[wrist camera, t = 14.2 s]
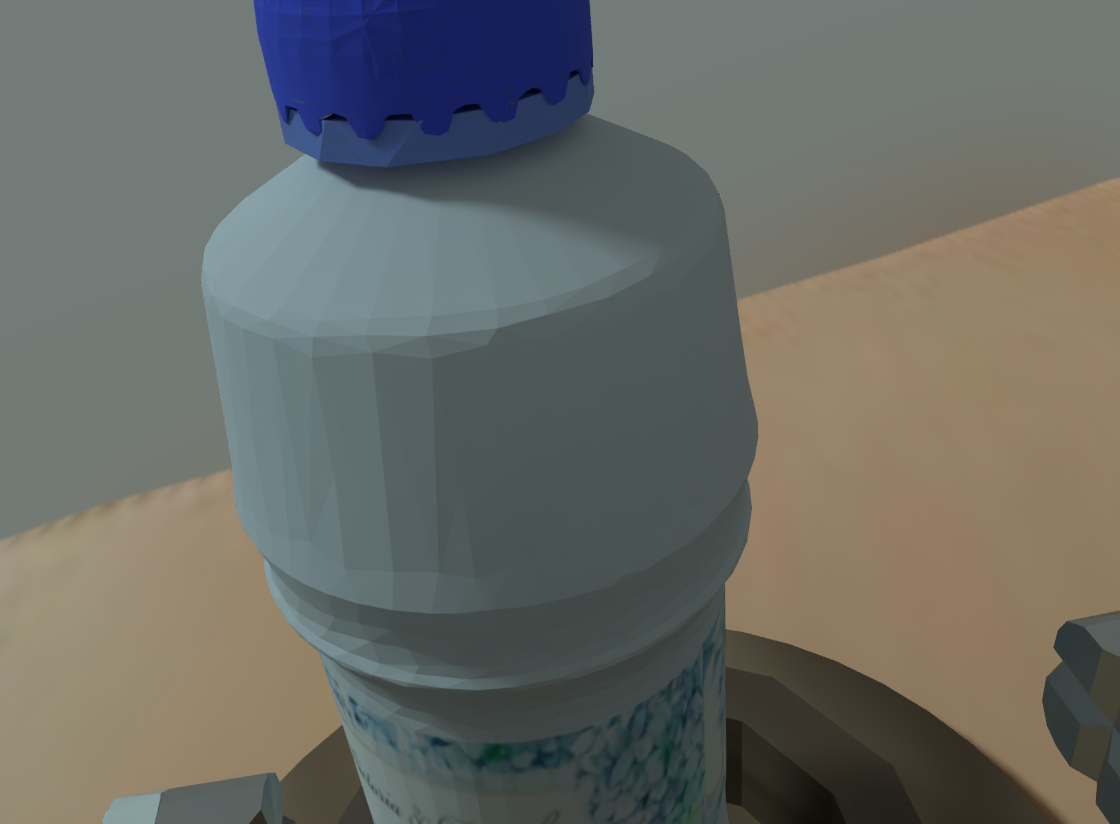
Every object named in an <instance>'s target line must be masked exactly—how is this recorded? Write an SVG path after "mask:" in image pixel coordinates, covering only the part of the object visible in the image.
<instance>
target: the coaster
mask: <svg viewBox="0 0 1120 824" xmlns="http://www.w3.org/2000/svg"><path fill="white" fill-rule="evenodd" d="M725 658H726V781H725V792H726V806H727V814H728V821H729V824H1051V823H1050V822H1049V821H1048V820H1047V819H1046V818H1045V816H1044V815H1043V814H1042V813H1041V812H1040V811H1039V810H1038V809H1037V807H1036V806H1035V805H1034V804H1033V803H1032V802H1031V801H1030V799H1029V798H1028V797H1027V796H1026V795H1025V794H1024V793H1023V792H1022V790H1021V789H1020V788H1019V787H1018V786H1017V785H1016V784H1015V783H1014V782H1013V781H1012V780H1011V779H1010V778H1009V777H1007V776H1006V775H1005V774H1004V773H1003V772H1002V771H1001V770H1000V769H999V768H998V767H997V766H995V765H994V764H993V763H992V762H991V761H990V760H989V759H988V758H987V757H986V756H985V755H984V754H982V753H981V752H980V751H979V750H978V749H977V748H976V747H975V746H974V745H973V744H971V743H970V742H969V741H967V740H966V739H965V738H963V737H962V736H961V735H959V734H958V733H957V732H955V731H954V730H953V729H951V728H950V727H949V726H947V725H946V724H945V723H943V722H942V721H941V720H939V719H938V718H937V717H935V716H934V715H933V714H931V713H930V712H929V711H927V710H925V709H924V708H922V707H920V706H919V705H917V704H915V703H914V702H912V701H910V700H909V699H907V698H906V697H904V696H902V695H901V694H899V693H897V692H896V691H894V690H892V689H891V688H889V687H887V686H886V685H884V684H882V683H880V682H878V681H876V680H874V679H872V678H870V677H868V676H866V675H864V674H862V673H859V672H857V671H855V670H853V669H851V668H849V667H847V666H845V665H843V664H841V663H839V662H837V661H834V660H831V659H828V658H826V657H823V656H820V655H817V654H815V653H812V652H809V651H806V650H804V649H801V648H798V647H796V646H793V645H790V644H786V643H783V642H779V641H775V640H771V639H767V638H763V637H759V636H756V635H752V634H748V633H744V632H739V631H732V630H726V629H725ZM280 785H281V787H282V789H283V791H284V793H285V794H284V806H283V815H284V816H286V817H288V818H290V819H292V820H293V821H295V822H296V824H374V821H373V818H372V815H371V812H370V809H369V806H368V802H367V799H366V796H365V793H364V790H363V787H362V784H361V781H360V777H359V774H358V771H357V768H356V765H355V762H354V759H353V756H352V752H351V749H350V746H349V743H348V740H347V737H346V734H345V731H344V727H343V725H342V726H341V727H339V728H338V729H337V730H336V731H335V732H334V733H332V734H331V735H330V736H329V737H328V738H326V739H325V740H324V741H323V742H322V743H321V744H319V745H318V746H317V747H316V748H315V749H313V750H312V751H311V752H310V753H309V754H308V755H306V756H305V757H304V758H303V759H302V760H301V761H300V762H299V763H298V764H297V765H296V766H295V767H294V768H293V769H292V770H291V771H290V772H289V773H288V774H287V775H286V776H285V778H284V779H283V780H282V781H281V782H280Z"/></svg>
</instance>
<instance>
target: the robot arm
mask: <svg viewBox="0 0 1120 824" xmlns="http://www.w3.org/2000/svg"><path fill="white" fill-rule="evenodd" d="M1053 648H1054V649H1055V651H1056V652H1057V653H1058V654H1059V656H1060V657H1061V658H1062V660H1063V661H1062V662H1061V663H1060V664H1059V665H1058V666H1057V667H1056V668H1055V669H1054V670H1053V671H1052V672H1051V673H1050V674H1049V675H1048V676H1047V677H1046V682H1045V687H1044V693H1043V699H1042V702H1043V707H1044V712H1045V718H1046V723H1047V727H1048V729H1049V731H1050V733H1051V735H1052V738H1053V740H1054V742H1055V744H1056V746H1057V748H1058V749H1059V751H1060V752H1061V754H1062V755H1063V757H1064V758H1065V760H1066V761H1067V763H1068V764H1069V766H1070V767H1072V768H1074V769H1075V770H1077V771H1079V772H1081V773H1082V774H1084V775H1086V776H1088V777H1089V778H1091V779H1093V780H1094V781H1096V782H1097V793H1096V805H1097V806H1098V807H1099V809H1100V810H1101V812H1102V813H1103V815H1104V816H1105V817H1106V819H1107V820H1108V822H1109V823H1110V824H1120V611H1115V612H1110V613H1105V614H1100V615H1095V616H1090V617H1085V618H1080V619H1075V620H1070V621H1067V622H1066V623H1065V624H1064V625H1063V626H1062V627H1061V628H1060V629H1059V630H1058V632H1057V636H1056V640H1055V644H1054V647H1053ZM284 794H285V793H284V791H283V789H282V787H281V785H280V782H279V780H278V778H277V776H276V773H265V774H259V775H253V776H247V777H241V778H234V779H228V780H222V781H216V782H210V783H203V784H197V785H191V786H185V787H179V788H172V789H168V790H162V791H156V792H150V793H145V794H139V795H133V796H128V797H122V798H116V799H115V800H114V801H113V803H112V805H111V806H110V808H109V809H108V811H107V813H106V814H105V816H104V819H103V823H102V824H296V822H295V821H293V820H292V819H290V818H288V817H286V816H284V815H283V806H284Z"/></svg>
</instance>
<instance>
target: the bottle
mask: <svg viewBox="0 0 1120 824" xmlns="http://www.w3.org/2000/svg"><path fill="white" fill-rule="evenodd" d="M254 7H255V16H256V24H257V32H258V36H259V41H260V45H261V48H262V52H263V56H264V61H265V65H266V69H267V73H268V77H269V81H270V85H271V89H272V92H273V95H274V98H275V101H276V105H277V110H278V114H279V119H280V123H281V127H282V131H283V136H284V140H285V143H286V144H288V145H290V146H292V147H294V148H295V149H297V150H299V151H301V152H303V153H305V155H304V156H302V157H301V158H300V159H298V160H297V161H296V162H294V163H293V164H292V165H290V166H289V167H287V168H286V169H285V170H283V171H282V172H281V173H279V174H278V175H276V176H275V177H274V178H272V179H271V180H270V181H268V182H267V183H266V184H264V185H263V186H261V187H260V188H259V189H257V190H256V191H255V192H253V193H252V194H251V195H249V196H248V197H247V198H245V199H244V200H243V201H241V202H240V204H239V205H238V206H237V207H236V208H235V209H234V210H233V211H232V212H231V213H230V214H229V215H228V216H227V217H226V218H225V219H224V220H223V221H222V222H221V223H220V224H219V226H218V227H217V228H216V229H215V231H214V233H213V235H212V237H211V238H210V241H209V242H208V244H207V246H206V248H205V252H204V259H203V269H202V279H201V284H202V290H203V296H204V302H205V308H206V313H207V319H208V326H209V331H210V337H211V342H212V349H213V355H214V361H215V366H216V373H217V379H218V384H219V390H220V396H221V402H222V407H223V414H224V420H225V426H226V431H227V437H228V443H229V449H230V455H231V461H232V472H233V487H234V497H235V507H236V509H237V512H238V515H239V518H240V521H241V524H242V526H243V529H244V530H245V531H246V533H247V534H248V536H249V537H250V539H251V540H252V542H253V543H254V545H255V546H256V547H257V549H258V550H259V552H260V553H261V554H262V555H263V557H264V565H265V576H266V579H267V582H268V585H269V588H270V590H271V593H272V596H273V599H274V601H275V602H276V604H277V606H278V607H279V609H280V611H281V613H282V614H283V616H284V618H285V619H286V621H287V622H288V623H289V624H290V625H291V626H292V627H293V629H294V630H295V631H296V632H297V633H298V634H299V635H300V637H301V638H303V639H304V640H305V641H306V642H308V643H309V644H310V645H311V646H313V647H314V648H315V649H316V650H318V651H319V652H320V656H321V659H322V662H323V665H324V668H325V671H326V674H327V677H328V681H329V684H330V687H331V690H332V693H333V696H334V699H335V702H336V706H337V709H338V712H339V715H340V718H341V721H342V724H343V727H344V731H345V734H346V737H347V740H348V743H349V746H350V749H351V752H352V756H353V759H354V762H355V765H356V768H357V771H358V774H359V777H360V781H361V784H362V787H363V790H364V793H365V796H366V799H367V802H368V806H369V809H370V812H371V815H372V818H373V821H374V824H729V821H728V814H727V806H726V792H725V781H726V658H725V582H726V581H727V580H728V578H729V577H730V576H731V574H732V573H733V571H734V569H735V567H736V565H737V563H738V561H739V559H740V557H741V554H742V552H743V550H744V547H745V545H746V543H747V538H748V531H749V524H750V517H751V510H752V505H751V496H750V488H749V483H748V480H747V478H748V475H749V472H750V469H751V467H752V464H753V461H754V458H755V453H756V447H757V441H758V420H757V416H756V411H755V406H754V402H753V398H752V394H751V390H750V385H749V381H748V377H747V370H746V363H745V357H744V350H743V343H742V337H741V330H740V323H739V315H738V308H737V300H736V293H735V286H734V278H733V271H732V263H731V256H730V248H729V241H728V234H727V226H726V219H725V211H724V207H723V204H722V201H721V198H720V195H719V193H718V191H717V189H716V188H715V185H714V184H713V182H712V180H711V179H710V177H709V175H708V173H707V172H706V171H705V170H703V168H701V167H700V166H699V165H698V164H697V163H696V162H695V161H693V160H692V159H691V158H690V157H689V156H687V155H686V154H684V153H683V152H681V151H679V150H677V149H676V148H674V147H672V146H669V145H668V144H665V143H662V142H660V141H658V140H655V139H653V138H650V137H647V136H645V135H642V134H640V133H637V132H634V131H631V130H629V129H626V128H624V127H621V126H618V125H616V124H613V123H610V122H608V121H605V120H603V119H600V118H597V117H595V116H592V115H589V114H587V113H588V112H589V110H590V106H591V103H592V99H593V95H594V85H593V74H592V67H593V47H592V32H591V17H590V3H589V0H254Z"/></svg>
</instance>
